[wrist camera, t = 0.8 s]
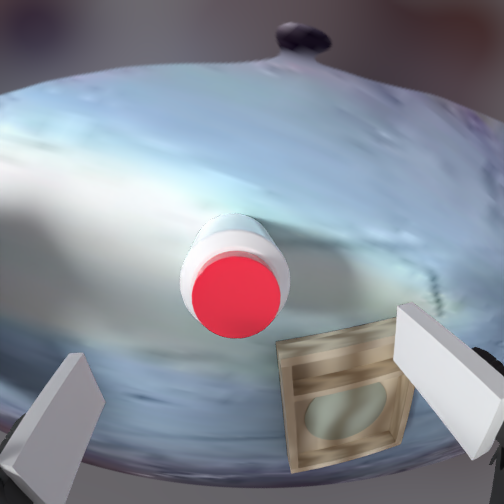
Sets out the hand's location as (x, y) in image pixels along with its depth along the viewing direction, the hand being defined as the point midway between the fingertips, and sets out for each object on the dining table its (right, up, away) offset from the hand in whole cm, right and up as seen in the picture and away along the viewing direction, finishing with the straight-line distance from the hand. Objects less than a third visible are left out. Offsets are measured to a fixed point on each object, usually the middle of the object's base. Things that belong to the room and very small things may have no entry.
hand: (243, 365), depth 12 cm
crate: (+12, -13, +24) cm, 30 cm away
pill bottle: (-1, +4, +18) cm, 19 cm away
